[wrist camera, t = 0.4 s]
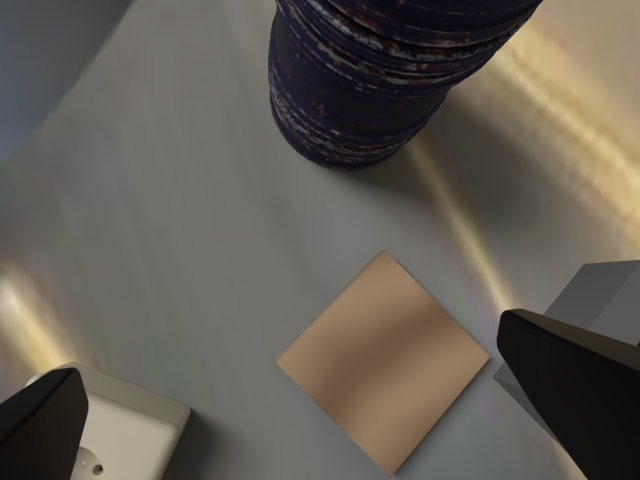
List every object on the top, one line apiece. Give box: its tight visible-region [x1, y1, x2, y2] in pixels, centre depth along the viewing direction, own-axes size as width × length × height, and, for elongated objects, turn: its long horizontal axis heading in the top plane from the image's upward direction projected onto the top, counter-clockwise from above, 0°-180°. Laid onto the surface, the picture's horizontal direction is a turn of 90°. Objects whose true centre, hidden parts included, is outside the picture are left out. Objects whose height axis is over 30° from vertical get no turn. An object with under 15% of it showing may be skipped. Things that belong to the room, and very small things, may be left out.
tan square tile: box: [276, 250, 490, 478], centre depth 23 cm, size 9×9×1 cm
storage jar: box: [268, 0, 543, 171], centre depth 18 cm, size 10×10×15 cm
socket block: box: [493, 260, 640, 451], centre depth 23 cm, size 10×10×4 cm
